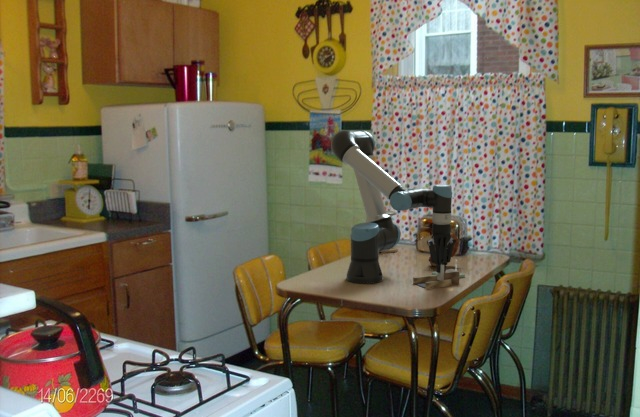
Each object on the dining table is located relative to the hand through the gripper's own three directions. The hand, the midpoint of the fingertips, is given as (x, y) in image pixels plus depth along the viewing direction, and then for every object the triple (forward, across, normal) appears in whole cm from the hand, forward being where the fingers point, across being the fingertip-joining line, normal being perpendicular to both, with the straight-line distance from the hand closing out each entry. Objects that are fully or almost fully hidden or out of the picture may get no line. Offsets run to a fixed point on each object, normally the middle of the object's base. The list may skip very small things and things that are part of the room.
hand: (440, 280), depth 265 cm
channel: (+2, -4, 0) cm, 4 cm away
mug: (+2, +21, +29) cm, 35 cm away
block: (+2, +4, 0) cm, 5 cm away
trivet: (+2, +11, +10) cm, 15 cm away
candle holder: (+1, +14, +70) cm, 72 cm away
